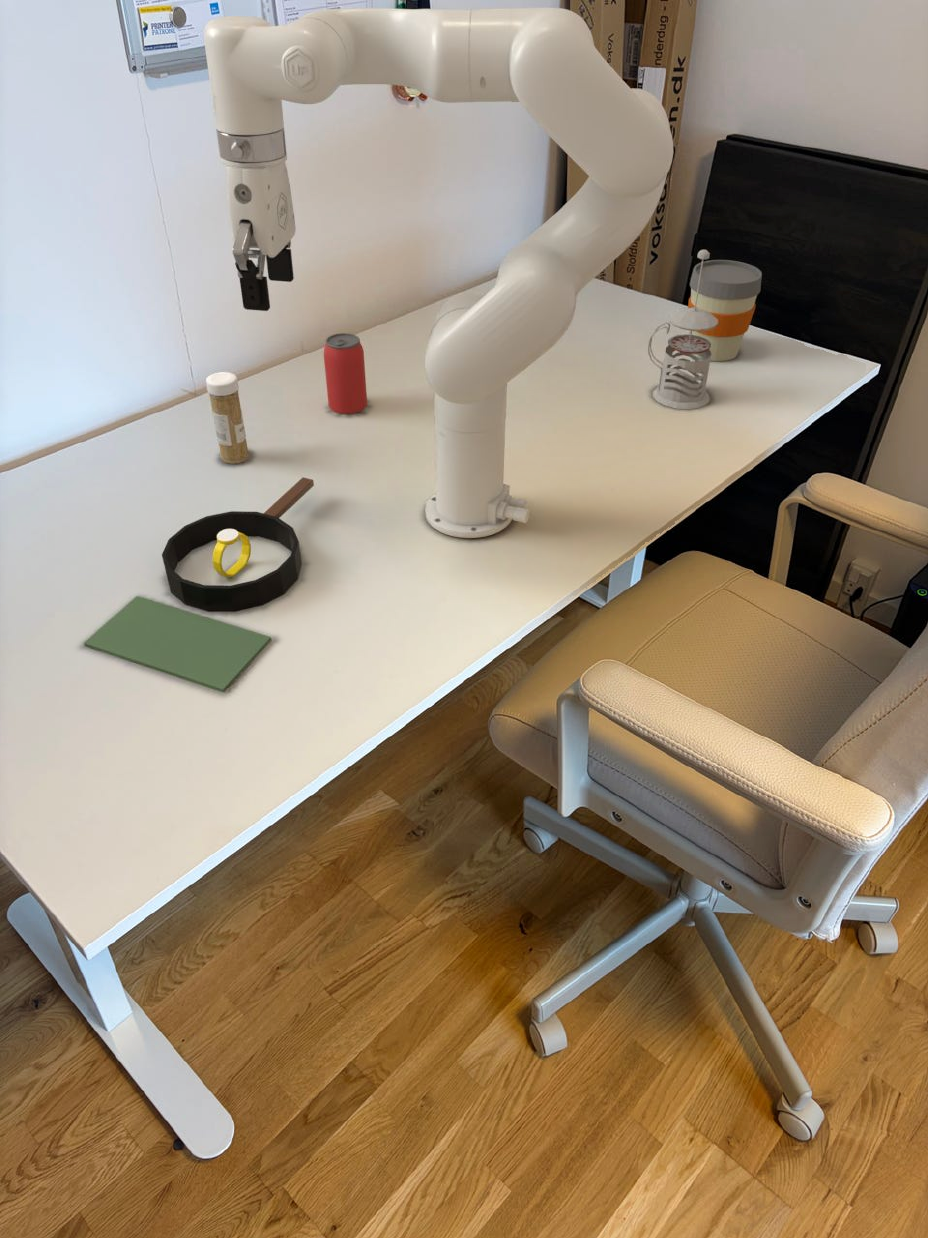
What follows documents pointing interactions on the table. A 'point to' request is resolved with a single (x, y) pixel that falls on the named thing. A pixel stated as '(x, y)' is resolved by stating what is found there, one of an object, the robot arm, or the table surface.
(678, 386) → the french press
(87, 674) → the table surface
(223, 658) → the mat
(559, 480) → the table surface
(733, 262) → the reusable coffee cup
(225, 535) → the watch
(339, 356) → the beer can
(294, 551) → the pan
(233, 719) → the table surface
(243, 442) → the sprinkles bottle
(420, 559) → the table surface
